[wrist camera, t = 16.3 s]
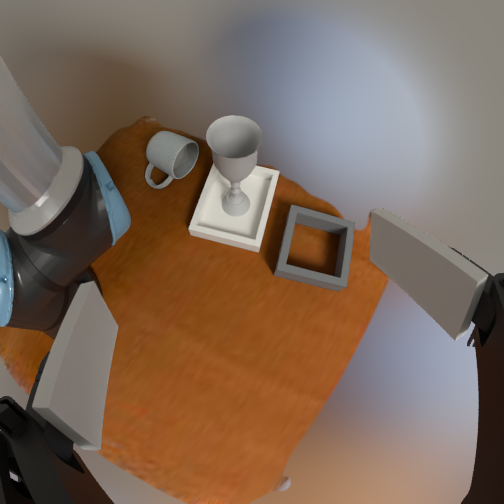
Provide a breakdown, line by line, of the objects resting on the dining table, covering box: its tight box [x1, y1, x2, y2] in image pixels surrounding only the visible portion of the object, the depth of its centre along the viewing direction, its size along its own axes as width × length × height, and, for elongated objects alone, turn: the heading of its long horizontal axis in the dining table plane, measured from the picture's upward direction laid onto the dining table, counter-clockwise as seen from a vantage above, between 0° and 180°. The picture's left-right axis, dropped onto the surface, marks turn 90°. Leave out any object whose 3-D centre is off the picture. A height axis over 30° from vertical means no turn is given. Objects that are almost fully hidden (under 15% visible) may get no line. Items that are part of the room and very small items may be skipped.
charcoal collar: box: [274, 205, 355, 291], centre depth 45 cm, size 11×11×4 cm
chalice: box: [206, 116, 263, 217], centre depth 40 cm, size 7×7×18 cm
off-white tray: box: [189, 163, 279, 252], centre depth 48 cm, size 12×15×3 cm
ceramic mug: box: [145, 131, 199, 189], centre depth 47 cm, size 11×8×8 cm
